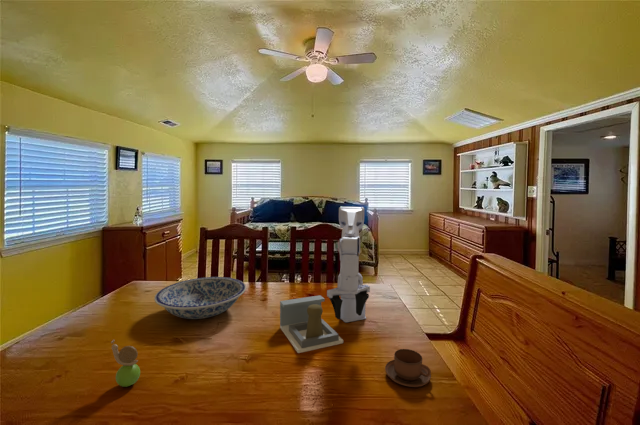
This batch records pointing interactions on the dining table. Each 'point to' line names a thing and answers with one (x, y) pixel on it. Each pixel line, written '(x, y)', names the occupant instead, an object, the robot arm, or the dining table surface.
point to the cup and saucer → (408, 369)
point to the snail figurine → (126, 365)
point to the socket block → (304, 325)
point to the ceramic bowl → (200, 296)
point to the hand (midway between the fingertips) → (348, 316)
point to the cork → (314, 321)
